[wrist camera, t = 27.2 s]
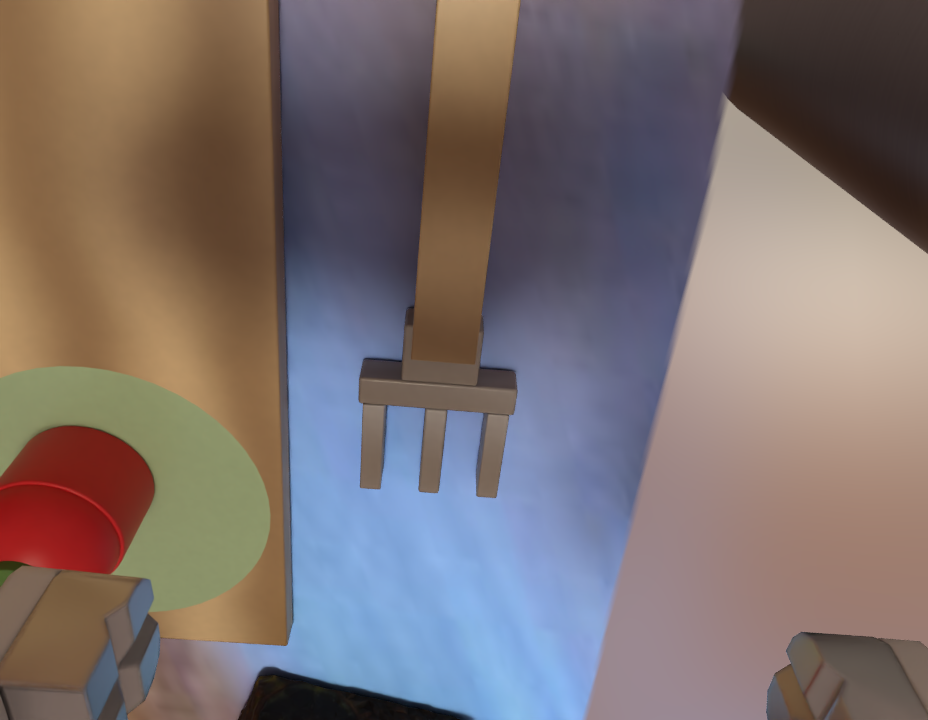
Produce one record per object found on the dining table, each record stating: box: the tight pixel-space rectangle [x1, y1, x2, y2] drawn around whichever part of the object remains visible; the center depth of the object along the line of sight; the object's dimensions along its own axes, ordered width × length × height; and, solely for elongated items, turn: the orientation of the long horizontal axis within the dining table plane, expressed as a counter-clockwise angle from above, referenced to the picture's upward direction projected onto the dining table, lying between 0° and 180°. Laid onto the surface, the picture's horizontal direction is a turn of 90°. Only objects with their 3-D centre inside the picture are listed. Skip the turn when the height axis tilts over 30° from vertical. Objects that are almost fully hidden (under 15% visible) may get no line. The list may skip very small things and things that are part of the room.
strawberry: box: [0, 426, 154, 587], centre depth 24 cm, size 4×4×5 cm
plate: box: [0, 366, 270, 612], centre depth 27 cm, size 11×11×1 cm
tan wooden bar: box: [359, 0, 521, 498], centre depth 21 cm, size 18×5×3 cm, turn 174°
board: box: [0, 0, 293, 646], centre depth 20 cm, size 12×42×1 cm, turn 174°
